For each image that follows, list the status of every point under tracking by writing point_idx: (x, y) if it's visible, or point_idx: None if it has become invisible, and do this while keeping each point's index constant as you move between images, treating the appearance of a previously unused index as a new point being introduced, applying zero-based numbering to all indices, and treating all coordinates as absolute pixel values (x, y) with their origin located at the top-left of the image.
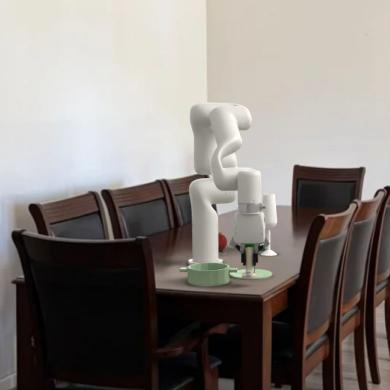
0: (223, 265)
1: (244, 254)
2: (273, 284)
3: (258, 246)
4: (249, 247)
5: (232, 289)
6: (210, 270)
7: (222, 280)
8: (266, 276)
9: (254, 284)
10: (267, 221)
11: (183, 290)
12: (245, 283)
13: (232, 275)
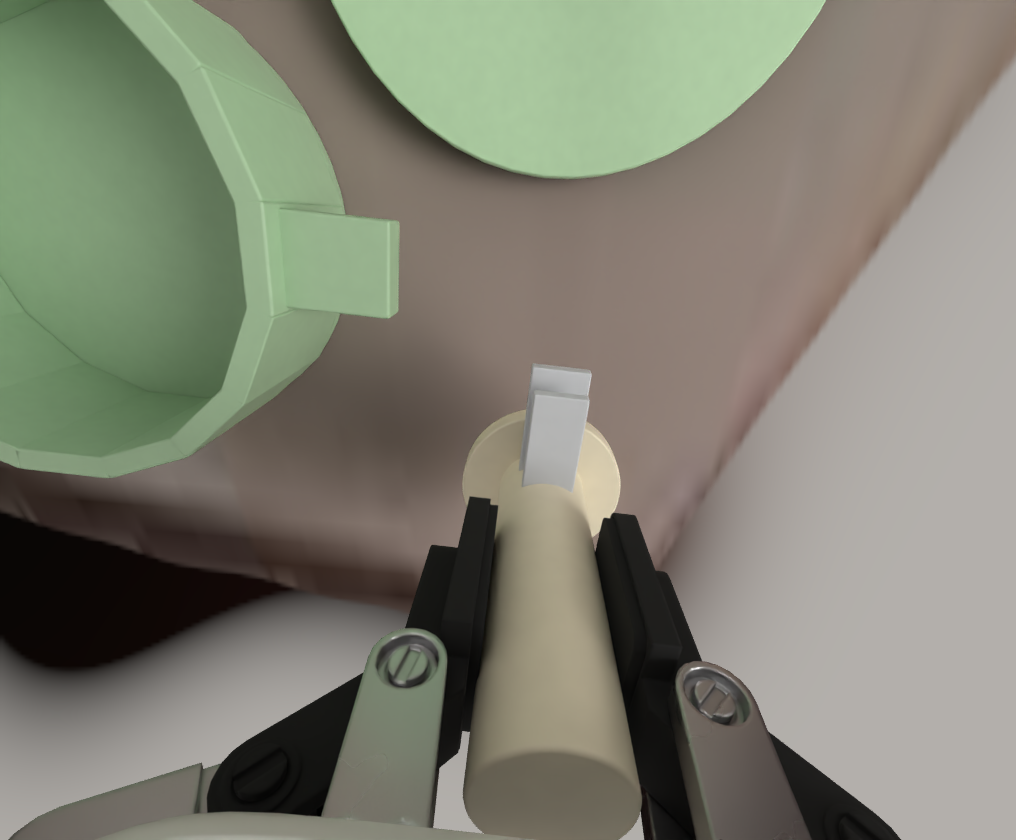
0: (148, 40)
1: (460, 736)
2: (759, 336)
3: (774, 825)
4: (552, 765)
5: (407, 480)
6: (113, 470)
7: (289, 381)
8: (756, 89)
9: (586, 323)
10: None
11: (62, 479)
12: (505, 275)
13: (341, 12)
